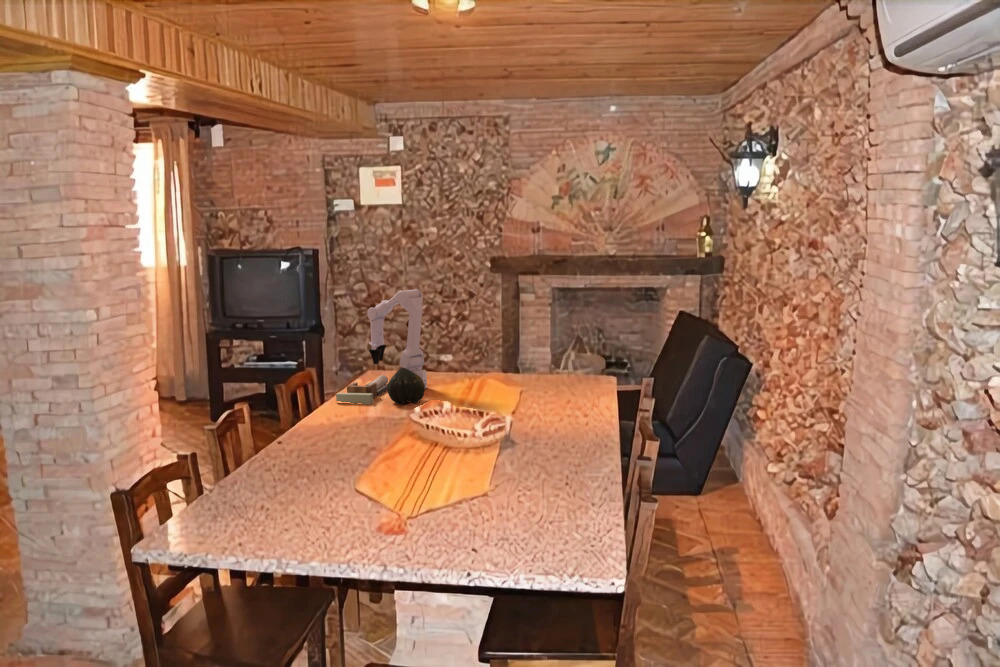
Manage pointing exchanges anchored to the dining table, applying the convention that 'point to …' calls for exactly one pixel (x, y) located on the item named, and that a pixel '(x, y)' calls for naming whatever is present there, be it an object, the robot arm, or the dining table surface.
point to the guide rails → (381, 389)
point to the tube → (380, 381)
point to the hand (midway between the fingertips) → (378, 362)
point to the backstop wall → (355, 397)
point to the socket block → (363, 389)
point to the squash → (406, 387)
